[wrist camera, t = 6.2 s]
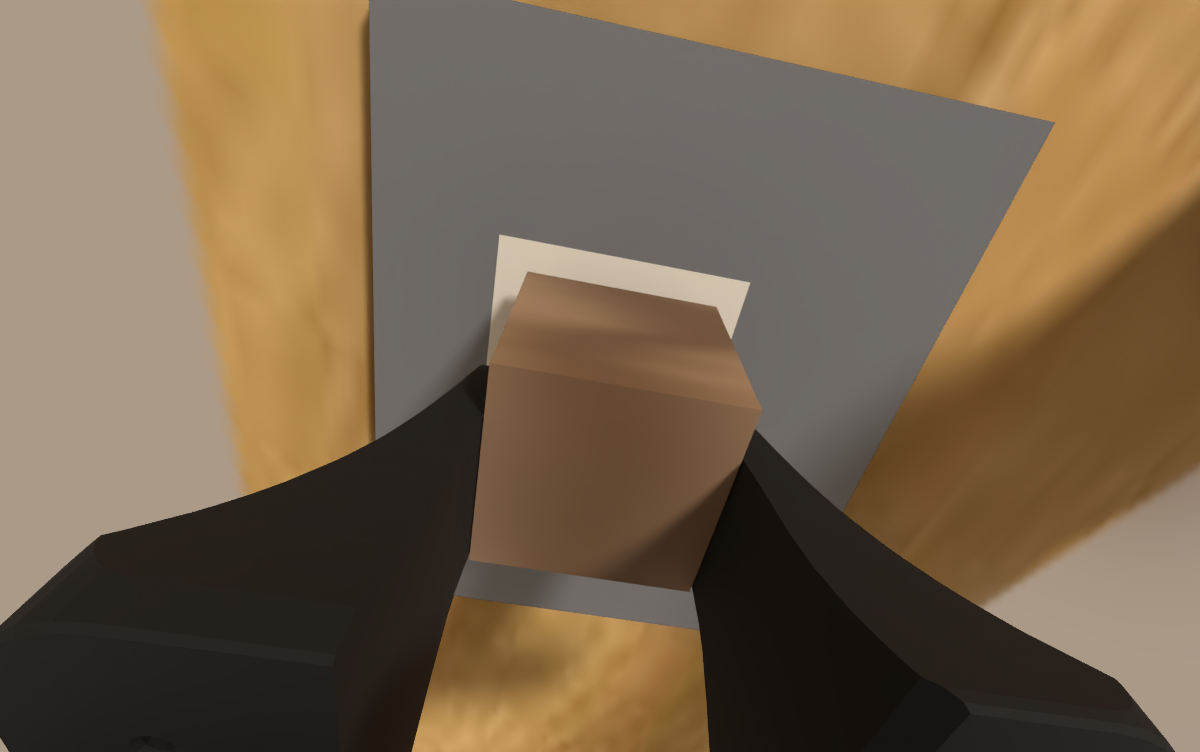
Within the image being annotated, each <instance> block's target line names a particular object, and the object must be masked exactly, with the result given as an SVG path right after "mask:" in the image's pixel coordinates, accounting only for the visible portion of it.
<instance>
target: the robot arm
mask: <svg viewBox="0 0 1200 752" xmlns="http://www.w3.org/2000/svg"><path fill="white" fill-rule="evenodd" d="M488 373H489V366H487V365H480V366H479V367H477V368H476V369H474V370H473V371H472V372H471V373H470V374H468V375H467V376H466V377H465V378H464V379H462V380H461V381H460V382H459V383H458V384H456V385H455V386H454V387H453V388H451V389H450V390H449V391H448V392H446V393H445V394H444V395H442V396H441V397H440V398H438V399H437V400H436V401H434V402H433V403H432V404H430V405H429V406H428V407H426V408H425V409H424V410H422V411H421V412H419V413H418V414H417V415H415V416H414V417H412V418H410V419H409V420H407V421H406V422H404V423H403V424H401V425H400V426H398V427H397V428H395V429H394V430H392V431H390V432H389V433H387V434H386V435H384V436H382V437H381V438H379V439H377V440H375V441H374V442H372V443H370V444H368V445H366V446H364V447H362V448H360V449H358V450H356V451H354V452H352V453H350V454H349V455H347V456H344V457H342V458H340V459H338V460H336V461H334V462H331V463H329V464H327V465H324V466H322V467H319V468H317V469H315V470H312V471H310V472H308V473H305V474H303V475H300V476H298V477H296V478H293V479H291V480H289V481H286V482H283V483H281V484H278V485H275V486H273V487H270V488H267V489H264V490H261V491H258V492H256V493H253V494H250V495H247V496H244V497H241V498H237V499H234V500H231V501H228V502H225V503H222V504H219V505H216V506H212V507H209V508H205V509H202V510H199V511H196V512H192V513H188V514H184V515H180V516H176V517H173V518H168V519H164V520H161V521H157V522H153V523H149V524H145V525H141V526H137V527H134V528H130V529H126V530H122V531H118V532H113V533H109V534H105V535H101V536H100V537H98V538H97V539H96V540H95V541H93V542H92V543H91V544H90V545H89V546H87V547H86V548H85V549H84V550H83V551H82V552H81V553H79V554H78V555H77V556H76V557H75V558H74V559H72V560H71V561H70V562H69V563H68V564H67V565H66V566H64V567H63V568H62V569H61V570H60V571H59V572H58V573H57V574H56V575H55V576H54V577H52V578H51V579H50V580H49V581H48V582H47V583H46V584H45V585H44V586H43V587H42V588H41V589H39V591H37V592H36V593H35V594H34V595H33V596H32V597H31V598H30V599H29V600H27V601H26V602H25V603H24V604H23V605H22V606H21V607H20V608H19V609H18V610H16V611H15V612H14V613H13V614H12V615H11V616H10V617H9V618H8V619H7V620H6V621H5V622H3V623H2V624H1V625H0V738H1V739H2V741H3V743H4V744H5V746H6V747H7V749H8V751H9V752H412V748H413V744H414V740H415V736H416V732H417V728H418V724H419V720H420V716H421V713H422V709H423V705H424V701H425V697H426V694H427V690H428V686H429V682H430V678H431V675H432V671H433V667H434V663H435V659H436V656H437V652H438V648H439V645H440V641H441V637H442V634H443V630H444V626H445V622H446V619H447V615H448V612H449V608H450V605H451V602H452V599H453V596H454V593H455V590H456V588H457V585H458V582H459V580H460V577H461V574H462V572H463V569H464V566H465V564H466V561H467V558H468V556H469V553H470V547H471V538H472V528H473V518H474V508H475V499H476V489H477V479H478V470H479V460H480V450H481V441H482V431H483V421H484V411H485V402H486V392H487V382H488ZM692 591H693V596H694V601H695V607H696V612H697V617H698V622H699V629H700V636H701V643H702V651H703V663H704V675H705V688H706V700H707V716H708V732H709V748H710V752H1175V751H1174V750H1173V748H1172V747H1171V746H1170V744H1169V743H1168V741H1167V740H1166V739H1165V737H1164V736H1163V735H1162V734H1161V733H1160V732H1159V730H1158V729H1157V728H1156V726H1155V725H1154V724H1153V723H1152V722H1151V720H1150V719H1149V718H1148V717H1147V715H1146V714H1145V713H1144V712H1143V711H1142V709H1141V708H1140V707H1139V706H1138V704H1137V703H1136V702H1135V701H1134V699H1133V698H1132V697H1131V696H1130V695H1129V693H1128V692H1127V691H1126V690H1125V689H1124V687H1123V686H1122V685H1121V684H1120V683H1119V682H1118V681H1117V680H1116V679H1115V678H1113V677H1110V676H1109V675H1107V674H1104V673H1103V672H1101V671H1099V670H1097V669H1095V668H1093V667H1091V666H1089V665H1087V664H1085V663H1083V662H1081V661H1079V660H1077V659H1075V658H1073V657H1071V656H1069V655H1067V654H1065V653H1063V652H1061V651H1059V650H1057V649H1056V648H1054V647H1052V646H1050V645H1048V644H1046V643H1043V642H1042V641H1040V640H1038V639H1036V638H1034V637H1032V636H1030V635H1028V634H1026V633H1024V632H1022V631H1021V630H1019V629H1017V628H1015V627H1013V626H1012V625H1010V624H1008V623H1006V622H1005V621H1003V620H1001V619H999V618H998V617H996V616H994V615H993V614H991V613H989V612H987V611H986V610H984V609H982V608H980V607H979V606H977V605H975V604H973V603H972V602H970V601H968V600H967V599H965V598H963V597H962V596H960V595H959V594H957V593H955V592H954V591H952V590H950V589H949V588H947V587H946V586H944V585H942V584H941V583H939V582H938V581H936V580H935V579H933V578H932V577H930V576H929V575H927V574H926V573H924V572H923V571H921V570H920V569H918V568H917V567H915V566H914V565H912V564H911V563H909V562H908V561H906V560H905V559H903V558H902V557H900V556H899V555H898V554H896V553H895V552H893V551H892V550H891V549H889V548H888V547H886V546H885V545H884V544H882V543H881V542H880V541H878V540H877V539H876V538H874V537H873V536H872V535H871V534H869V533H868V532H867V531H865V530H864V529H863V528H862V527H860V526H859V525H858V524H856V523H855V522H854V521H852V520H851V519H850V518H849V517H848V516H846V515H845V514H844V513H843V512H842V511H840V510H839V509H838V508H837V507H836V506H834V505H833V504H832V503H831V502H830V501H829V500H828V499H827V498H826V497H824V496H823V495H822V494H821V493H820V492H819V491H818V490H817V489H815V488H814V487H813V486H812V485H811V484H810V483H809V482H808V481H807V480H806V479H805V478H804V477H803V476H802V475H800V474H799V473H798V472H797V471H796V470H795V469H794V468H793V467H792V466H791V465H790V464H789V463H788V462H787V461H786V460H785V459H784V458H783V457H782V456H781V455H780V454H779V453H778V452H777V451H776V450H775V449H774V448H773V447H772V446H771V445H770V444H769V443H768V441H767V440H766V439H765V438H764V437H763V436H762V435H761V434H760V433H759V432H758V431H757V430H756V429H755V430H754V433H753V435H752V438H751V440H750V443H749V445H748V448H747V450H746V453H745V455H744V458H743V460H742V463H741V465H740V467H739V470H738V472H737V475H736V477H735V480H734V482H733V485H732V487H731V490H730V492H729V495H728V497H727V500H726V502H725V505H724V507H723V510H722V512H721V515H720V517H719V520H718V522H717V525H716V527H715V530H714V532H713V535H712V537H711V540H710V542H709V545H708V547H707V550H706V552H705V555H704V557H703V560H702V562H701V565H700V567H699V570H698V572H697V575H696V577H695V580H694V582H693V585H692Z"/></svg>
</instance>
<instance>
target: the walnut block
mask: <svg viewBox="0 0 1200 752" xmlns="http://www.w3.org/2000/svg"><path fill="white" fill-rule="evenodd" d="M761 413H762V408H761V406H760V404H759V402H758V399H757V397H756V395H755V393H754V390H753V388H752V386H751V384H750V381H749V379H748V377H747V375H746V372H745V370H744V368H743V366H742V363H741V361H740V359H739V357H738V354H737V352H736V350H735V348H734V345H733V343H732V341H731V339H730V336H729V334H728V332H727V330H726V327H725V325H724V323H723V320H722V318H721V316H720V314H719V311H718V309H717V307H715V306H709V305H704V304H699V303H693V302H688V301H683V300H677V299H672V298H667V297H661V296H656V295H651V294H645V293H640V292H635V291H629V290H624V289H619V288H613V287H608V286H603V285H597V284H592V283H587V282H582V281H576V280H571V279H566V278H560V277H555V276H550V275H544V274H539V273H534V272H528V271H527V274H526V276H525V278H524V281H523V283H522V286H521V288H520V291H519V293H518V295H517V298H516V300H515V303H514V305H513V307H512V310H511V312H510V315H509V317H508V319H507V322H506V324H505V327H504V329H503V332H502V334H501V336H500V339H499V341H498V344H497V346H496V348H495V351H494V353H493V356H492V358H491V361H490V363H489V373H488V382H487V392H486V402H485V411H484V421H483V431H482V441H481V450H480V460H479V470H478V479H477V489H476V499H475V508H474V518H473V528H472V538H471V547H470V557H469V560H473V561H480V562H487V563H494V564H500V565H507V566H514V567H521V568H528V569H535V570H542V571H548V572H555V573H562V574H569V575H576V576H583V577H590V578H596V579H603V580H610V581H617V582H624V583H631V584H638V585H644V586H651V587H658V588H665V589H672V590H679V591H686V592H690V590H691V587H692V585H693V582H694V580H695V577H696V575H697V572H698V570H699V567H700V565H701V562H702V560H703V557H704V555H705V552H706V550H707V547H708V545H709V542H710V540H711V537H712V535H713V532H714V530H715V527H716V525H717V522H718V520H719V517H720V515H721V512H722V510H723V507H724V505H725V502H726V500H727V497H728V495H729V492H730V490H731V487H732V485H733V482H734V480H735V477H736V475H737V472H738V470H739V467H740V465H741V463H742V460H743V458H744V455H745V453H746V450H747V448H748V445H749V443H750V440H751V438H752V435H753V433H754V430H755V428H756V425H757V423H758V420H759V418H760V415H761Z"/></svg>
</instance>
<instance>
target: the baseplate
mask: <svg viewBox="0 0 1200 752" xmlns="http://www.w3.org/2000/svg"><path fill="white" fill-rule="evenodd" d="M369 33H370V101H371V169H372V237H373V305H374V372H375V440H377V439H379V438H381V437H382V436H384V435H386V434H387V433H389V432H390V431H392V430H394V429H395V428H397V427H398V426H400V425H401V424H403V423H404V422H406V421H407V420H409V419H410V418H412V417H414V416H415V415H417V414H418V413H419V412H421V411H422V410H424V409H425V408H426V407H428V406H429V405H430V404H432V403H433V402H434V401H436V400H437V399H438V398H440V397H441V396H442V395H444V394H445V393H446V392H448V391H449V390H450V389H451V388H453V387H454V386H455V385H456V384H458V383H459V382H460V381H461V380H462V379H464V378H465V377H466V376H467V375H468V374H470V373H471V372H472V371H473V370H474V369H476V368H477V367H479V366H480V365H487V366H489V363H490V361H491V358H492V356H493V353H494V351H495V348H496V346H497V344H498V341H499V339H500V336H501V334H502V332H503V329H504V327H505V324H506V322H507V319H508V317H509V315H510V312H511V310H512V307H513V305H514V303H515V300H516V298H517V295H518V293H519V291H520V288H521V286H522V283H523V281H524V278H525V276H526V274H527V271H528V272H534V273H539V274H544V275H550V276H555V277H560V278H566V279H571V280H576V281H582V282H587V283H592V284H597V285H603V286H608V287H613V288H619V289H624V290H629V291H635V292H640V293H645V294H651V295H656V296H661V297H667V298H672V299H677V300H683V301H688V302H693V303H699V304H704V305H709V306H715V307H717V309H718V311H719V314H720V316H721V318H722V320H723V323H724V325H725V327H726V330H727V332H728V334H729V336H730V339H731V341H732V343H733V345H734V348H735V350H736V352H737V354H738V357H739V359H740V361H741V363H742V366H743V368H744V370H745V372H746V375H747V377H748V379H749V381H750V384H751V386H752V388H753V390H754V393H755V395H756V397H757V399H758V402H759V404H760V406H761V408H762V413H761V415H760V418H759V420H758V423H757V425H756V428H755V429H756V430H757V431H758V432H759V433H760V434H761V435H762V436H763V437H764V438H765V439H766V440H767V441H768V443H769V444H770V445H771V446H772V447H773V448H774V449H775V450H776V451H777V452H778V453H779V454H780V455H781V456H782V457H783V458H784V459H785V460H786V461H787V462H788V463H789V464H790V465H791V466H792V467H793V468H794V469H795V470H796V471H797V472H798V473H799V474H800V475H802V476H803V477H804V478H805V479H806V480H807V481H808V482H809V483H810V484H811V485H812V486H813V487H814V488H815V489H817V490H818V491H819V492H820V493H821V494H822V495H823V496H824V497H826V498H827V499H828V500H829V501H830V502H831V503H832V504H833V505H834V506H836V507H837V508H838V509H839V510H840V511H842V512H843V510H844V509H845V507H846V505H847V503H848V501H849V499H850V498H851V496H852V494H853V492H854V490H855V488H856V487H857V485H858V483H859V481H860V479H861V477H862V476H863V474H864V472H865V470H866V468H867V466H868V465H869V463H870V461H871V459H872V457H873V455H874V454H875V452H876V450H877V448H878V446H879V444H880V443H881V441H882V439H883V437H884V435H885V433H886V432H887V430H888V428H889V426H890V424H891V422H892V421H893V419H894V417H895V415H896V413H897V411H898V410H899V408H900V406H901V404H902V402H903V401H904V399H905V397H906V395H907V393H908V391H909V390H910V388H911V386H912V384H913V382H914V380H915V379H916V377H917V375H918V373H919V371H920V369H921V368H922V366H923V364H924V362H925V360H926V358H927V357H928V355H929V353H930V351H931V349H932V347H933V346H934V344H935V342H936V340H937V338H938V336H939V335H940V333H941V331H942V329H943V327H944V325H945V324H946V322H947V320H948V318H949V316H950V314H951V313H952V311H953V309H954V307H955V305H956V303H957V302H958V300H959V298H960V296H961V294H962V292H963V291H964V289H965V287H966V285H967V283H968V281H969V280H970V278H971V276H972V274H973V272H974V270H975V269H976V267H977V265H978V263H979V261H980V259H981V258H982V256H983V254H984V252H985V250H986V248H987V247H988V245H989V243H990V241H991V239H992V237H993V236H994V234H995V232H996V230H997V228H998V226H999V225H1000V223H1001V221H1002V219H1003V217H1004V215H1005V214H1006V212H1007V210H1008V208H1009V206H1010V204H1011V203H1012V201H1013V199H1014V197H1015V195H1016V193H1017V192H1018V190H1019V188H1020V186H1021V184H1022V182H1023V181H1024V179H1025V177H1026V175H1027V173H1028V171H1029V170H1030V168H1031V166H1032V164H1033V162H1034V160H1035V159H1036V157H1037V155H1038V153H1039V151H1040V149H1041V148H1042V146H1043V144H1044V142H1045V140H1046V138H1047V137H1048V135H1049V133H1050V131H1051V129H1052V127H1053V126H1054V124H1055V122H1050V121H1046V120H1041V119H1037V118H1032V117H1028V116H1024V115H1019V114H1015V113H1010V112H1006V111H1001V110H997V109H992V108H988V107H983V106H979V105H975V104H970V103H966V102H961V101H957V100H952V99H948V98H943V97H939V96H935V95H930V94H926V93H921V92H917V91H912V90H908V89H903V88H899V87H895V86H890V85H886V84H881V83H877V82H872V81H868V80H863V79H859V78H855V77H850V76H846V75H841V74H837V73H832V72H828V71H823V70H819V69H814V68H810V67H806V66H801V65H797V64H792V63H788V62H783V61H779V60H774V59H770V58H766V57H761V56H757V55H752V54H748V53H743V52H739V51H734V50H730V49H726V48H721V47H717V46H712V45H708V44H703V43H699V42H694V41H690V40H686V39H681V38H677V37H672V36H668V35H663V34H659V33H654V32H650V31H645V30H641V29H637V28H632V27H628V26H623V25H619V24H614V23H610V22H605V21H601V20H597V19H592V18H588V17H583V16H579V15H574V14H570V13H565V12H561V11H557V10H552V9H548V8H543V7H539V6H534V5H530V4H525V3H521V2H517V1H512V0H369ZM469 557H470V553H469V556H468V558H467V561H466V564H465V566H464V569H463V572H462V574H461V577H460V580H459V582H458V585H457V588H456V590H455V593H454V596H459V597H467V598H474V599H481V600H488V601H495V602H502V603H509V604H517V605H524V606H531V607H538V608H545V609H552V610H559V611H567V612H574V613H581V614H588V615H595V616H602V617H609V618H616V619H624V620H631V621H638V622H645V623H652V624H659V625H666V626H674V627H681V628H688V629H695V630H700V629H699V622H698V617H697V612H696V607H695V601H694V596H693V591H692V587H691V590H690V592H686V591H679V590H672V589H665V588H658V587H651V586H644V585H638V584H631V583H624V582H617V581H610V580H603V579H596V578H590V577H583V576H576V575H569V574H562V573H555V572H548V571H542V570H535V569H528V568H521V567H514V566H507V565H500V564H494V563H487V562H480V561H473V560H469Z"/></svg>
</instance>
